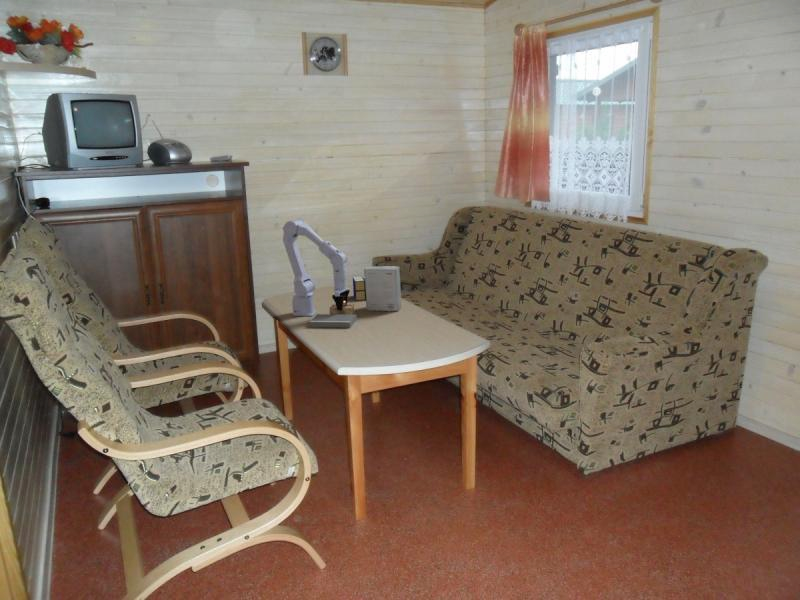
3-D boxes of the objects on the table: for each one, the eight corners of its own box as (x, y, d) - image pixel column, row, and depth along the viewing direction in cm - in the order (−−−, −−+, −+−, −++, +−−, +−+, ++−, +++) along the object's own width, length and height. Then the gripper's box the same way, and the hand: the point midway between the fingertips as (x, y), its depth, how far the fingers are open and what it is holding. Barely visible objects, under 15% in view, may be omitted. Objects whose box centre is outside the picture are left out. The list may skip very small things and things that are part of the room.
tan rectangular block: (330, 318, 294) (329, 307, 293) (333, 314, 300) (332, 304, 298) (351, 318, 293) (351, 307, 291) (354, 315, 298) (353, 304, 297)
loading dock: (309, 327, 280) (309, 321, 280) (317, 319, 292) (317, 313, 291) (350, 327, 278) (349, 322, 277) (356, 319, 289) (356, 314, 288)
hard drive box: (401, 307, 307) (400, 266, 302) (397, 311, 300) (395, 269, 295) (370, 306, 311) (368, 265, 306) (365, 310, 304) (363, 269, 299)
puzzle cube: (353, 296, 332) (352, 277, 329) (372, 294, 334) (371, 275, 331) (355, 300, 322) (354, 281, 320) (375, 299, 324) (374, 279, 322)
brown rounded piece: (336, 307, 293) (336, 302, 293) (338, 305, 297) (338, 299, 296) (344, 307, 293) (344, 302, 292) (347, 305, 296) (346, 299, 296)
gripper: (344, 282, 284) (346, 312, 287) (352, 275, 298) (354, 303, 301) (329, 282, 285) (331, 312, 289) (337, 275, 299) (339, 303, 302)
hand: (342, 307), depth 295 cm, fingers open, 7 cm apart
